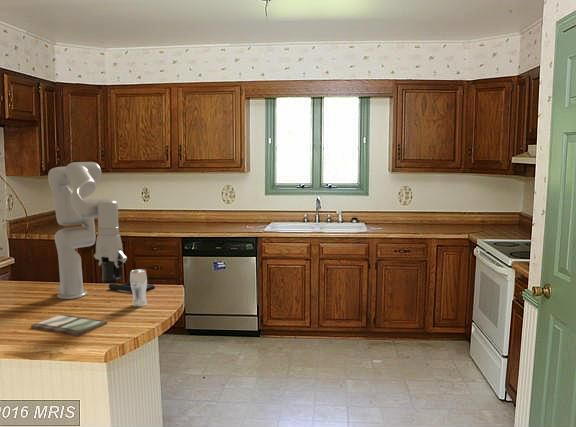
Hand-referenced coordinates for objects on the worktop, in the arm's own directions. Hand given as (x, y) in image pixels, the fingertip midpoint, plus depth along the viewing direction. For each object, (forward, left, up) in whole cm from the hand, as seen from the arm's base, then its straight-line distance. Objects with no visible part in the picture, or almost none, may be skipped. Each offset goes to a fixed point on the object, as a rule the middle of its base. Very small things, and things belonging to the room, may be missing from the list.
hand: (111, 275), depth 194 cm
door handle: (-21, +37, -18) cm, 46 cm away
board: (-9, -14, -17) cm, 24 cm away
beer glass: (-1, +17, -17) cm, 24 cm away
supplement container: (0, 0, -3) cm, 3 cm away
